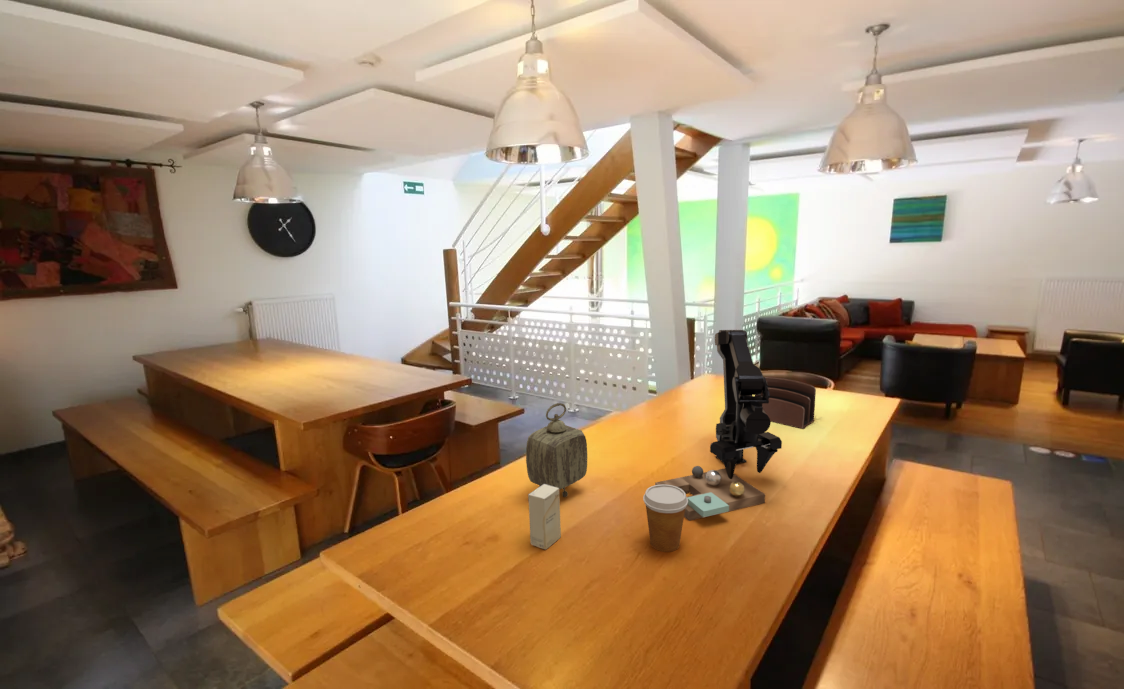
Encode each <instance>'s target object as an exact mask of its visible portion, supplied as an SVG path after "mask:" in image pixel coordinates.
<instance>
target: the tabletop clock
mask: <svg viewBox="0 0 1124 689" xmlns="http://www.w3.org/2000/svg"><path fill="white" fill-rule="evenodd" d="M560 406H562V408H564V409H563V412H562V413H561V414H558V413H555V414H554V415H553V416H554V417H553V418H552V417H549V412H550V411H551V410H552V409H553V408H556V407H560ZM566 412H567V407H566V405H565V404H564V403H563V402H557V403H555V404H552V405H551V406H549V408H547V410H546V412H545V417H546V419H547V420H548V421H549V422H548V423H547V425H546V426H543V427H541V428H540V429H537V430H535V431H533V432H532V433H531V434H530V435H529V436H528V437H527V440H526V447H525V449H526V450H525V454H526V455H525V463H526V470H527V471H526V472H527V476H528V478H529V481H530V482H531V483H534V484H535V485H538V487H540V486H542V485H543V484H547V485H550V486H554V487H557V488H559V490H561V489H562V492H561V494H562V495H561V496H562V497H563V498H567V497H568V496H569V493H568V491H567V490H566V487H569V486H571V485H573V484H575V483H576V482H578V481H580V480H582V479H583V478H584V477H586V475H587V470H588V443H587V438H586V435H585V434H584V431H583V430H581V429H579V428H576V427H572V426H569V425H566V424H565V422H564V421H563V420H561V418H562V417H564V415H565V414H566Z"/></svg>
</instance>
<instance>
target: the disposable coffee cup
mask: <svg viewBox="0 0 1124 689" xmlns="http://www.w3.org/2000/svg"><path fill="white" fill-rule="evenodd" d="M687 497H688V496H687V493H686V494H685V492H684V491H683V490H682V489H680V488H678V487H676V486H672V485H664V484H661V485H655V484H654V485H652V486H649V487H648V488H646V490H645V492H644V494H643V498H642V499H643V500H642V501H643V502H644V505H645V511H646V518H647V519H646V520H647V526H648V533H649V541H650V545H651V547H652V548H654V549H655V550H657V551H660V552H664V553H668V552H674V551H676V550H678V549H679V548H680V544H681V539H682V538H681V537H682V531H683V526H684V518H685V517H684V513H685V508H686V506H687V504H688V498H687Z"/></svg>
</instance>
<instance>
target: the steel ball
mask: <svg viewBox="0 0 1124 689" xmlns="http://www.w3.org/2000/svg"><path fill="white" fill-rule="evenodd" d="M716 470H717V469H710V470H708V471H706V472H707V473H706V475H705V480H706V482H707V483H708V484H709V485H711V486H716V485H718V484H719V483H720V482H721V475H720V473H719V472H717V471H716Z"/></svg>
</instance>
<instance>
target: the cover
mask: <svg viewBox="0 0 1124 689" xmlns="http://www.w3.org/2000/svg"><path fill="white" fill-rule="evenodd" d="M691 496H692V497H688V496H686V497H687V498H688V505H689V506H690V507H692V508H693V509H694V510H695V511H696V512H698V513H699V514H700V515H701V516H702V517H703V518H706V517H710V516H715V515H720V514H724V513H727V512H728V513H729V512H730V511H729V505H728V504H726V503H725V502H724V501H722V500H721V499H720V498H718V497H717V496H716V495H714V494H713V493H712V492H710V493H705V494H701V495H696V496H693V495H691Z"/></svg>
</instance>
